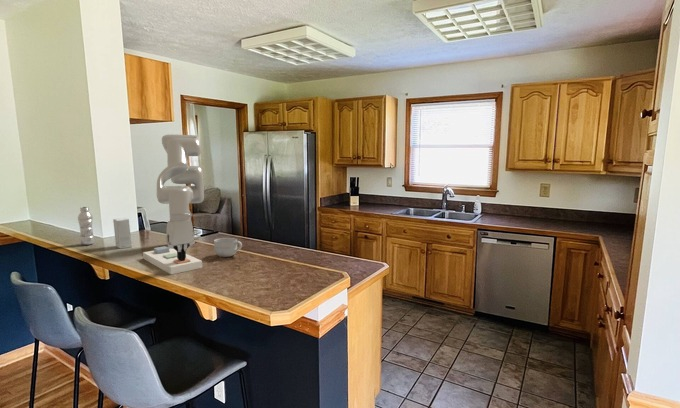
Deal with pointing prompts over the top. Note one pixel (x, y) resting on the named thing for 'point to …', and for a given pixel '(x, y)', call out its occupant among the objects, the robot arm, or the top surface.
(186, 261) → the terracotta button
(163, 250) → the slate button
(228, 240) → the teacup
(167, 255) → the sage button
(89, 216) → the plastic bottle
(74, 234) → the top surface
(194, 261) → the button panel
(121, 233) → the skincare box
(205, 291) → the top surface
